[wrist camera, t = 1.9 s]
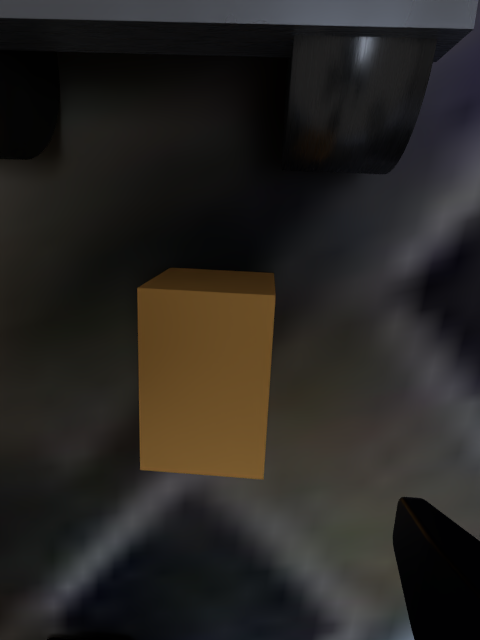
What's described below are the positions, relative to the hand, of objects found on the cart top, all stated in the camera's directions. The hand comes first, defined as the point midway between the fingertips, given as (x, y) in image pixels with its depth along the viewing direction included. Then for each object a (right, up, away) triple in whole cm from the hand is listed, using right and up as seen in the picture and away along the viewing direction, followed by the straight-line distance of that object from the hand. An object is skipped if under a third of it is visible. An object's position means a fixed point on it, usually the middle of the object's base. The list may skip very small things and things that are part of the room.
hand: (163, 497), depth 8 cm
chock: (+1, +3, +9) cm, 10 cm away
